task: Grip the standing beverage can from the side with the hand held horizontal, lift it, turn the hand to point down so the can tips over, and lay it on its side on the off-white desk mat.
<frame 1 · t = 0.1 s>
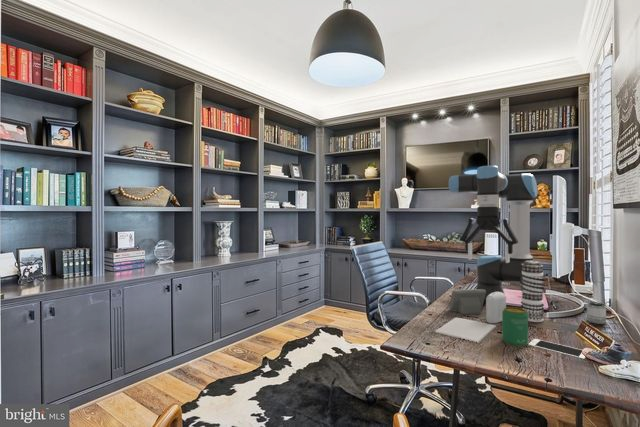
hand: (488, 260, 134), 28 cm above the table, tool pointing down, fingers open, 13 cm apart
desk mat: (466, 329, 138), on the table
beverage can: (514, 343, 124), on the table
cell phone: (557, 350, 119), on the table
grey translucent bin: (467, 311, 162), on the table
tower model: (532, 319, 150), on the table
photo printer: (496, 321, 148), on the table
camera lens: (596, 322, 146), on the table
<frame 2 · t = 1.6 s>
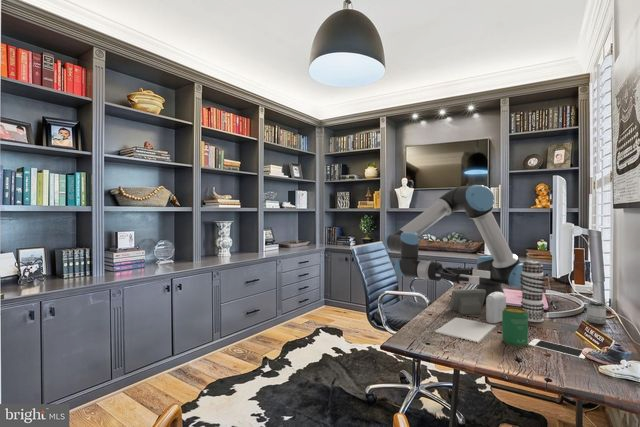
hand: (484, 277, 131), 22 cm above the table, tool horizontal, fingers open, 13 cm apart
nothing on the table moved.
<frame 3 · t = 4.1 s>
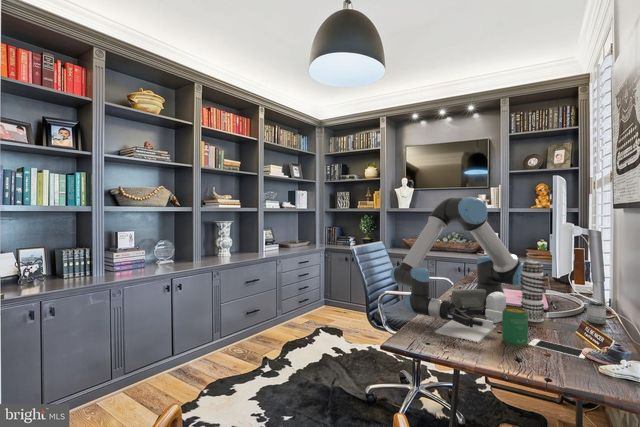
hand: (498, 320, 127), 7 cm above the table, tool horizontal, fingers open, 13 cm apart
nothing on the table moved.
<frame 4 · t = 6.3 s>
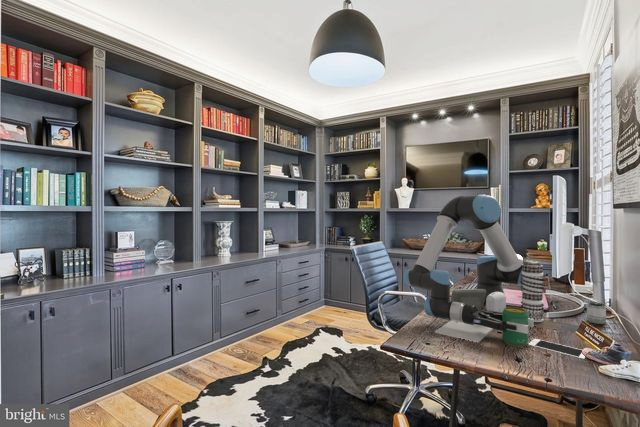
hand: (530, 326, 121), 7 cm above the table, tool horizontal, fingers closed on beverage can, 8 cm apart
beverage can: (514, 343, 124), on the table, touching gripper
everything else where it was.
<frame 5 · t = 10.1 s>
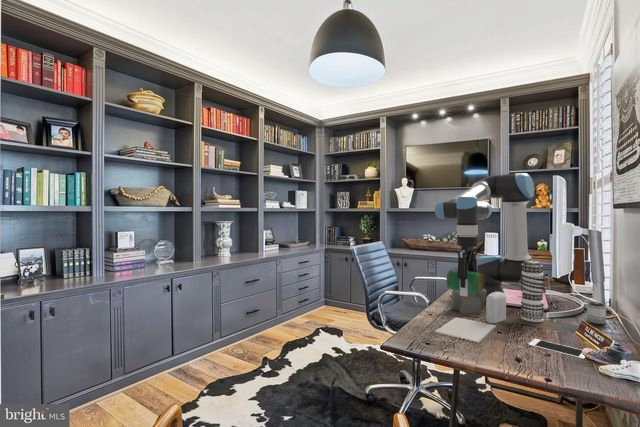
hand: (467, 293, 136), 15 cm above the table, tool pointing down, fingers closed on beverage can, 8 cm apart
beverage can: (449, 279, 141), point 19 cm above the table, touching gripper
everything else where it was.
when the fingers open (2 cm above the table, at t = 12.7 s): beverage can drops 2 cm, resting on desk mat.
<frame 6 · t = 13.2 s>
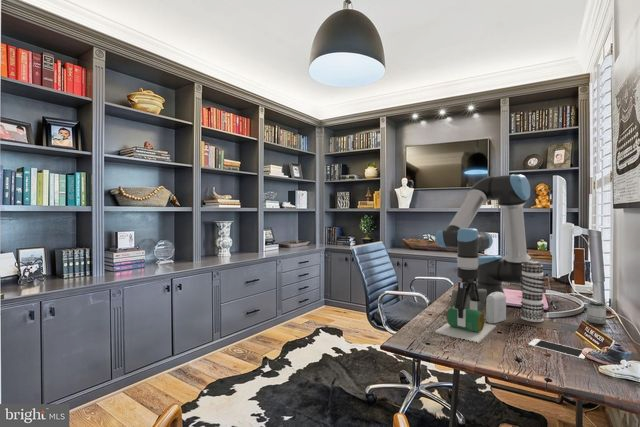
hand: (467, 321, 136), 4 cm above the table, tool pointing down, fingers open, 13 cm apart
beverage can: (450, 315, 141), point 5 cm above the table, touching desk mat
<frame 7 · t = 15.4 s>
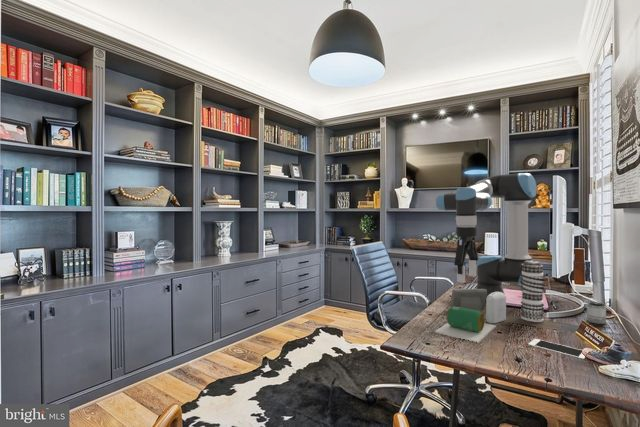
hand: (466, 279, 139), 20 cm above the table, tool pointing down, fingers open, 13 cm apart
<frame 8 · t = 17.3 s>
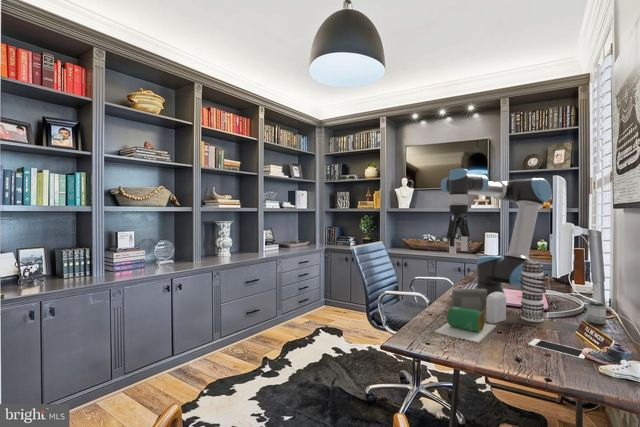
hand: (458, 252, 153), 29 cm above the table, tool pointing down, fingers open, 13 cm apart
at the end: beverage can tilted 90°; beverage can touching desk mat; beverage can inside the target area (6.1 cm from its centre), point 4.6 cm above the table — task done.
